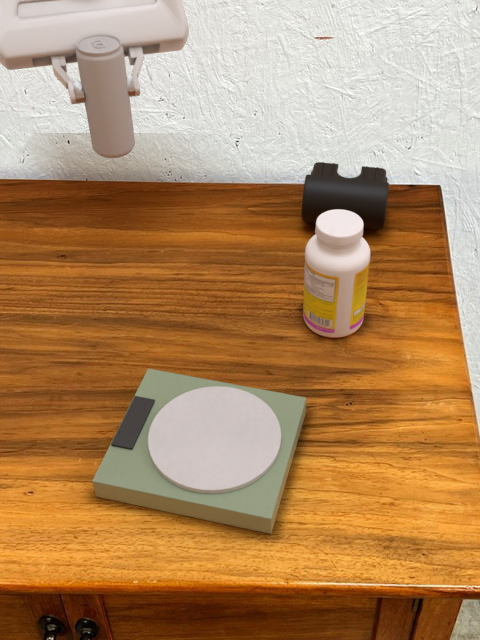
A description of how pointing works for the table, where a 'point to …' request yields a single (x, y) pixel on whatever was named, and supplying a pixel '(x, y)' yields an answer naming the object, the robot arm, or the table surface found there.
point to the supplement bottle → (336, 274)
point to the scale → (203, 450)
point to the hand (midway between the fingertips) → (106, 98)
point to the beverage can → (106, 94)
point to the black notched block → (346, 194)
